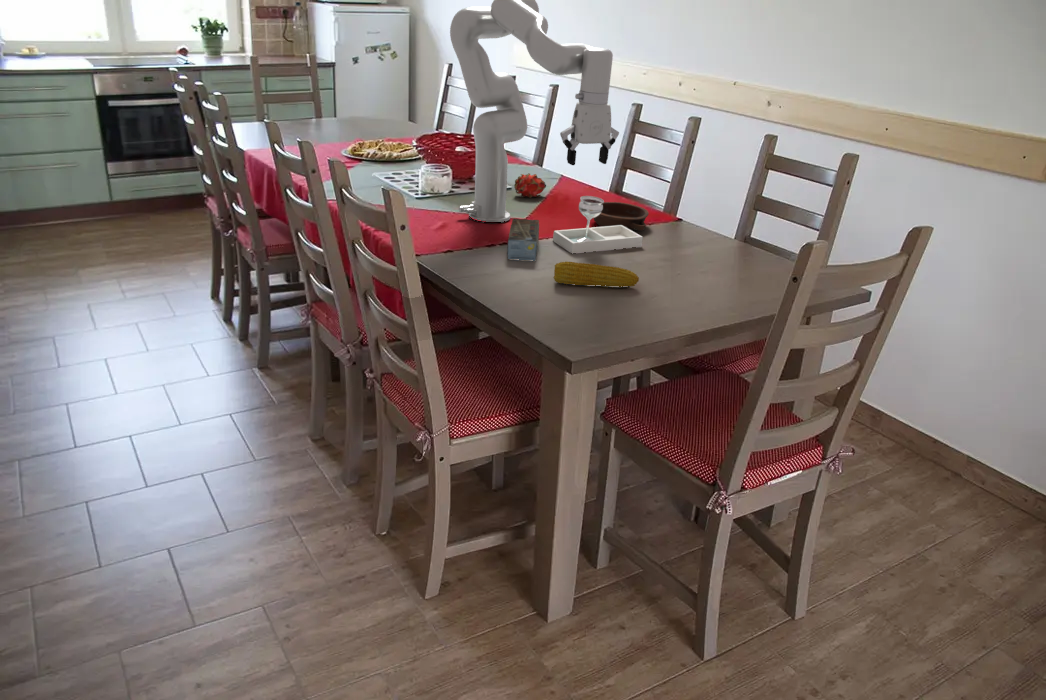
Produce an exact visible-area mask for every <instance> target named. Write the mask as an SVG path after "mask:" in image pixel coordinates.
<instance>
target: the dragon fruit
mask: <svg viewBox="0 0 1046 700" xmlns="http://www.w3.org/2000/svg"><path fill="white" fill-rule="evenodd" d="M513 186H514V190H515V193H516V194H517V195H518V194H521V197H522V196H523V197H522V198H525V197H527V198H529V199H530V198H531V199H532V197H535V198H539V197H540V196H541V193H543V191H544V190H545V189H546V187H547V184H546V182H545V181H544V180H543V179H542V178H541V177H538V176H537V174H536V173H535V174H532V175H531V173H527V174H524V173H521V174H520V176H518V177H517V178H516V179H515V180H514V184H513Z"/></svg>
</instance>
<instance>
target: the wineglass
mask: <svg viewBox="0 0 1046 700" xmlns="http://www.w3.org/2000/svg"><path fill="white" fill-rule="evenodd" d="M579 199H580V201H579V203H578V211H579V212H580V213H581V215H582V216H583V217H585V218H586V220H587V222H586V227H585V228H586V235H585V238H577V241H578V242H582V241H593V240H591V239H589V238H587V233H588V228H590V223H591V220H593V219H594V218H595V217H597V216H598V215H600V214H601V212H602V210H603V205H602V204H603V202H605V201H604V199H602V198H601V197H599V196H592V195H583V196H580V198H579Z"/></svg>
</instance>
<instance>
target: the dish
mask: <svg viewBox="0 0 1046 700" xmlns="http://www.w3.org/2000/svg"><path fill="white" fill-rule="evenodd" d="M602 205H603V210H602V212H601V214H600V215H598V216H597V217H595V218H593V220H594V222H595V224H596V225H598V226H599V227H604V226H616V225H623V226H624V227H626V228H628V229H630V230H632V231H633V230H634V231H637V232H638V231H641V232H642V231H644V230H645V228H646V223H645V221H646V218H647V217H648V216H649V213H650V212H649V211H648V210H647V209H646V208H644V207H642V206H639V205H635V204H633V203H625V202H619V201H604V202H603V204H602Z"/></svg>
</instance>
